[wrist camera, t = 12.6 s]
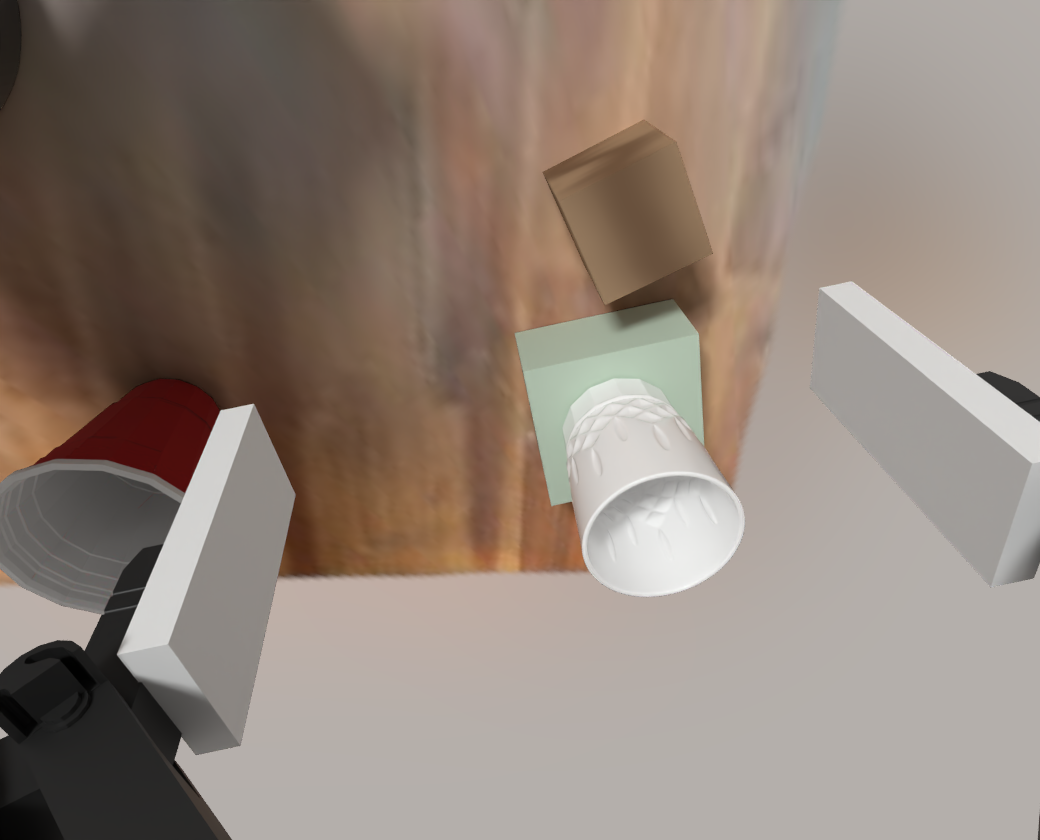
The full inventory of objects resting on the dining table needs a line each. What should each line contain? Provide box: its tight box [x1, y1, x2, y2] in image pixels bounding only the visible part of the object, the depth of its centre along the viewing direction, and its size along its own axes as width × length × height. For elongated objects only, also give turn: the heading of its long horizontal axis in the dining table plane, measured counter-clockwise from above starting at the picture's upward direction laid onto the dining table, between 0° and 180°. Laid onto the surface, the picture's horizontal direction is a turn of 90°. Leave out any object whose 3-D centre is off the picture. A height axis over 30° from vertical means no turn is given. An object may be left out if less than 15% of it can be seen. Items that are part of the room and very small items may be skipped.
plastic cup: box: [0, 379, 220, 615], centre depth 39 cm, size 11×11×12 cm
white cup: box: [562, 378, 745, 597], centre depth 37 cm, size 8×8×10 cm
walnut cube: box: [543, 120, 713, 305], centre depth 37 cm, size 6×6×6 cm
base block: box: [515, 299, 704, 506], centre depth 44 cm, size 10×10×5 cm
